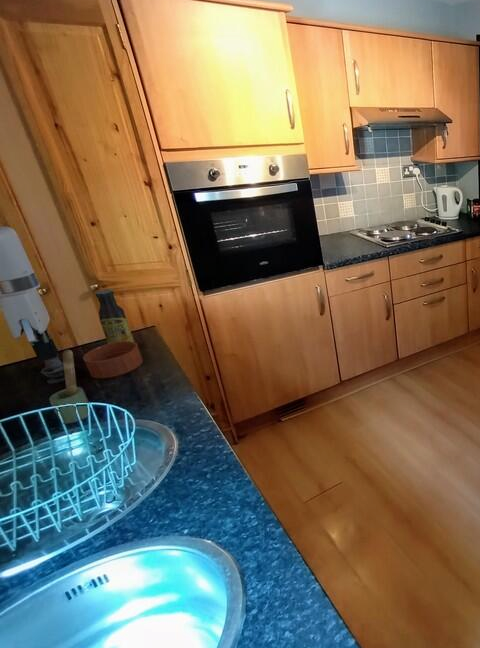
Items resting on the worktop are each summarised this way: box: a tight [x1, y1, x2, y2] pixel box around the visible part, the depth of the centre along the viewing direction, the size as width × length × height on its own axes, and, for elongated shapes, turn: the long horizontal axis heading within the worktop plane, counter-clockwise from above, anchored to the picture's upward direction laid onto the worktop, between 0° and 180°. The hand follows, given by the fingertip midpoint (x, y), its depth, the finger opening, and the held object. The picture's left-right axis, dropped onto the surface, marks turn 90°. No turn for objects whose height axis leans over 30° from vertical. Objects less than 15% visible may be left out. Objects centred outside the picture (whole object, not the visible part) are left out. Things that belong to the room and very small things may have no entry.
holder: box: [48, 386, 90, 424], centre depth 111 cm, size 6×6×7 cm
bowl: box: [82, 341, 144, 379], centre depth 132 cm, size 12×12×6 cm
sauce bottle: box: [95, 288, 135, 344], centre depth 140 cm, size 7×6×20 cm
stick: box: [61, 349, 78, 397], centre depth 110 cm, size 2×2×18 cm
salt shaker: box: [40, 353, 66, 385], centre depth 126 cm, size 6×6×12 cm
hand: (48, 356), depth 106 cm, fingers closed
